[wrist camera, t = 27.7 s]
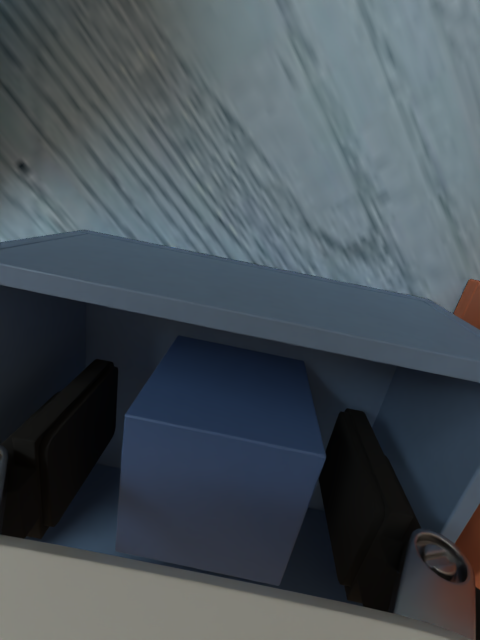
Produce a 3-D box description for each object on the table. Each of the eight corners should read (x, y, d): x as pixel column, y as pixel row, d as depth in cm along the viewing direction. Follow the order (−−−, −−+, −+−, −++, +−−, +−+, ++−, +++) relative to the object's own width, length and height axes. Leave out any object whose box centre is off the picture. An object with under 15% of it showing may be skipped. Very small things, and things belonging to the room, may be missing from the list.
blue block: (164, 436, 14) (114, 552, 9) (177, 334, 12) (123, 414, 8) (275, 459, 14) (279, 587, 9) (304, 360, 12) (327, 457, 8)
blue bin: (81, 457, 16) (-12, 584, 10) (83, 229, 12) (-63, 250, 7) (341, 511, 16) (378, 667, 10) (429, 299, 12) (560, 377, 6)
